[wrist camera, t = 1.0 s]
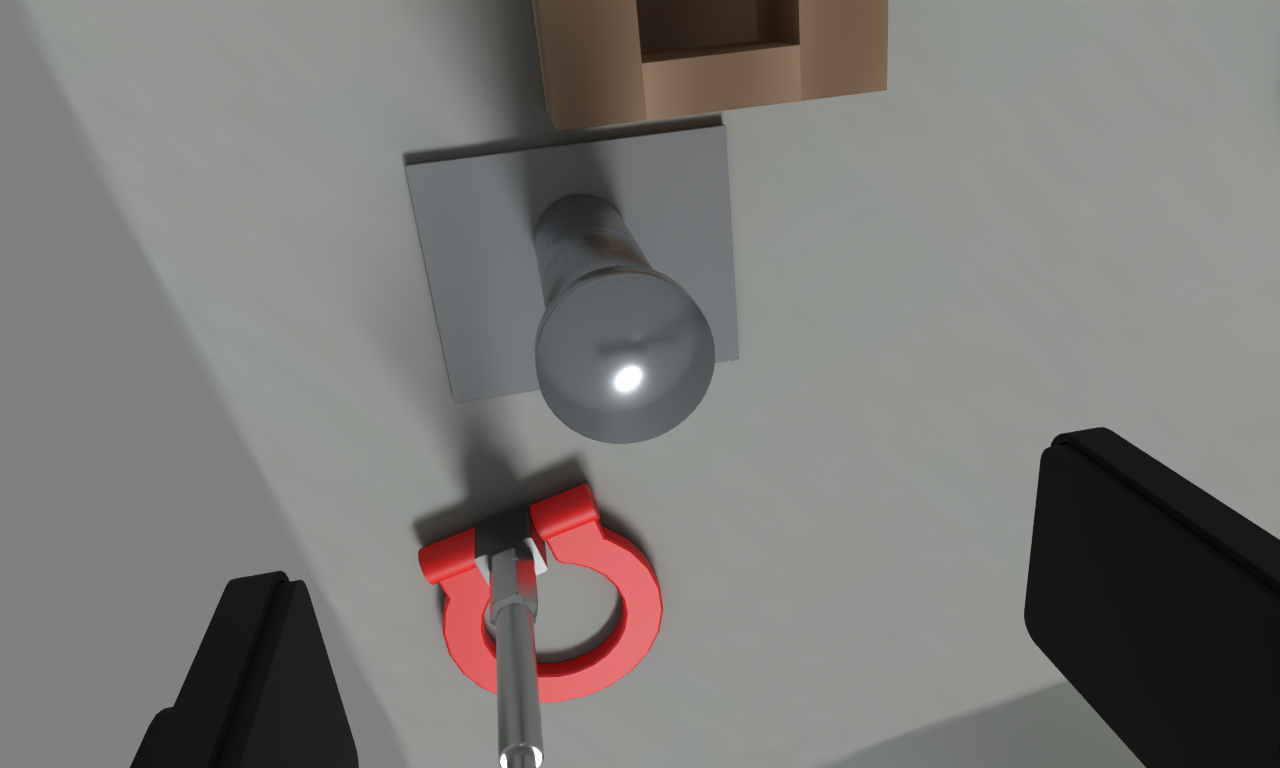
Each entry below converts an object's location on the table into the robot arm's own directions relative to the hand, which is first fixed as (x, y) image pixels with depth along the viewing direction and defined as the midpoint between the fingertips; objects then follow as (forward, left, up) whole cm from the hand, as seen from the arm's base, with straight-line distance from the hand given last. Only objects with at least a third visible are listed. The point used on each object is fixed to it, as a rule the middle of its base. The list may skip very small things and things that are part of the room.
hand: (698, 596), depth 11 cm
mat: (0, +1, -19) cm, 19 cm away
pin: (0, 0, -19) cm, 19 cm away
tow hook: (+3, +14, -20) cm, 24 cm away
